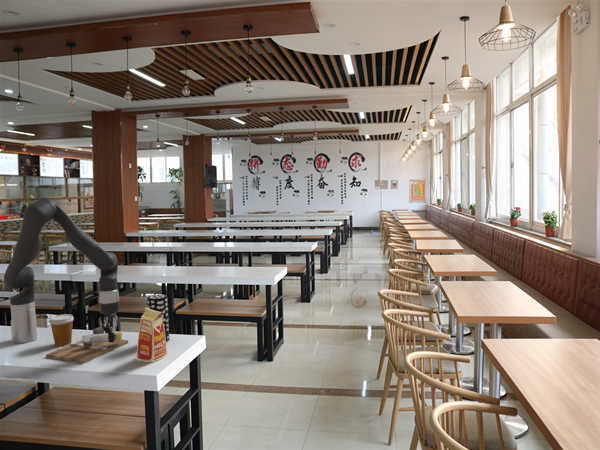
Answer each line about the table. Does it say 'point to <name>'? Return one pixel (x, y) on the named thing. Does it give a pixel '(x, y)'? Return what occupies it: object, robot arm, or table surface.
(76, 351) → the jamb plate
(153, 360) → the milk carton
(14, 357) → the table surface
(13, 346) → the table surface
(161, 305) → the spotted tube
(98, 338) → the swing bar
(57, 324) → the disposable coffee cup
